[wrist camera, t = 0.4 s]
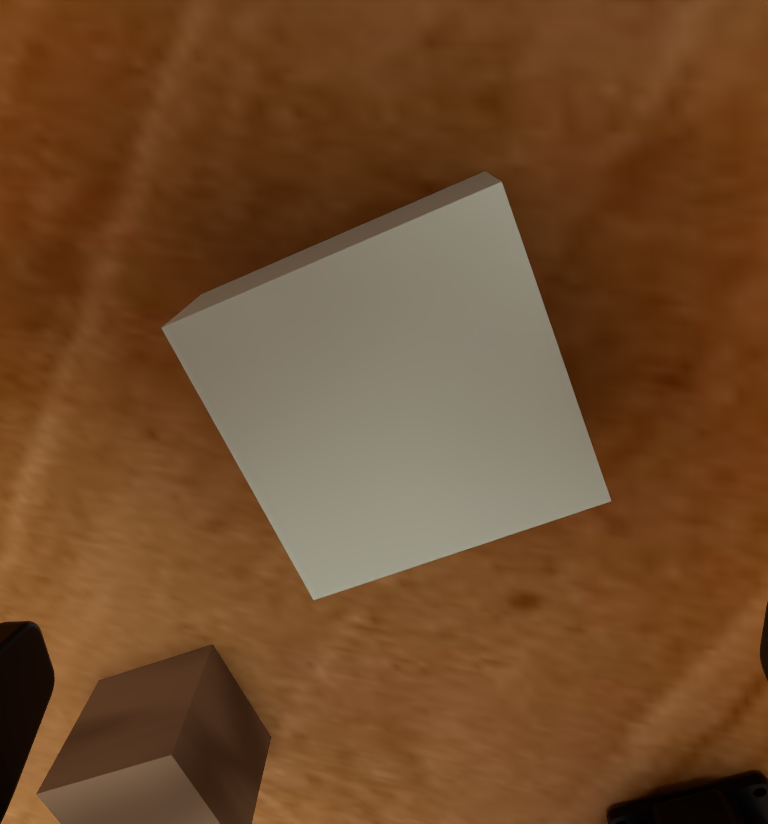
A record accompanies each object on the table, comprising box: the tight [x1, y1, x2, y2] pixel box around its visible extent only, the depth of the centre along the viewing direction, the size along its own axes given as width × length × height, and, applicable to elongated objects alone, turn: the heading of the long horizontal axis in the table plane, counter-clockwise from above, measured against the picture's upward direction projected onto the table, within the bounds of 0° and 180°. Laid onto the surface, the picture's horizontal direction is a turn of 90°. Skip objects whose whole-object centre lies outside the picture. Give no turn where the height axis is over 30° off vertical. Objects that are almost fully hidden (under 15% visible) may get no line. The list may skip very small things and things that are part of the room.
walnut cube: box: [37, 644, 271, 824], centre depth 25 cm, size 5×5×5 cm
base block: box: [161, 171, 611, 600], centre depth 20 cm, size 9×9×4 cm
